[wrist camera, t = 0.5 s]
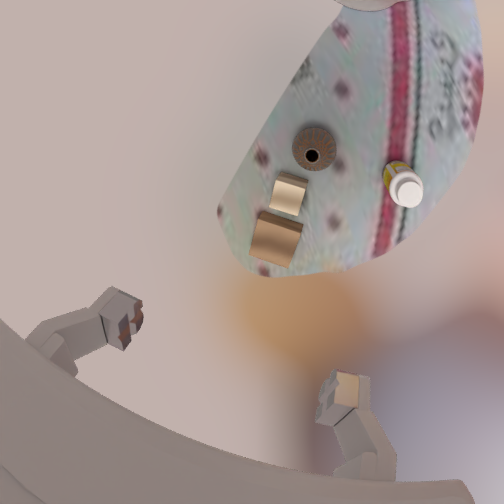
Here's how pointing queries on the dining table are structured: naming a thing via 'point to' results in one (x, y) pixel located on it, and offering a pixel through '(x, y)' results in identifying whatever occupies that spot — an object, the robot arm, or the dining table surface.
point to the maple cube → (288, 193)
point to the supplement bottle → (403, 184)
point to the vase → (314, 149)
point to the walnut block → (275, 239)
